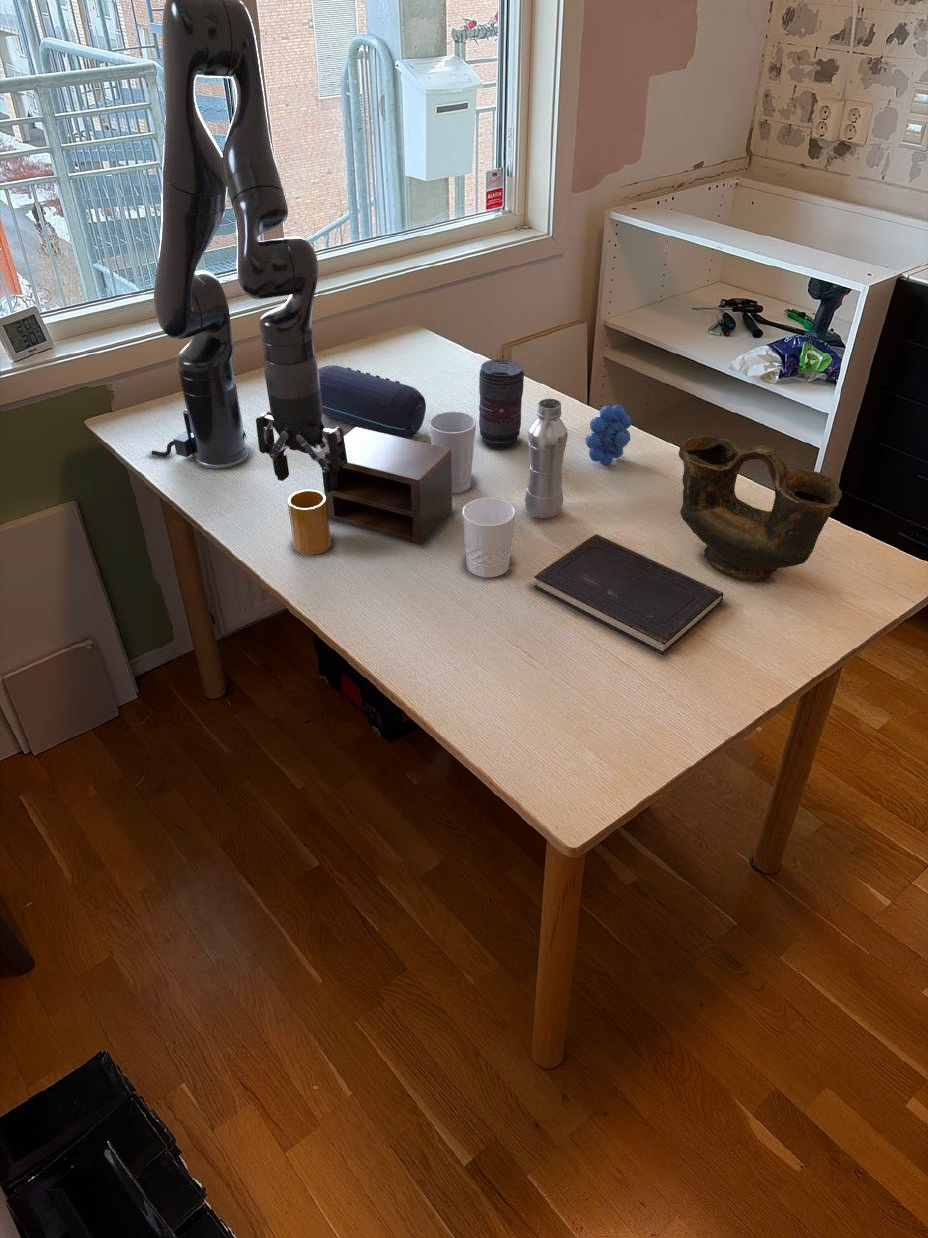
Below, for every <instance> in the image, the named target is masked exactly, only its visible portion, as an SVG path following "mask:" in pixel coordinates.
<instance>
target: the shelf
mask: <svg viewBox="0 0 928 1238" xmlns="http://www.w3.org/2000/svg"><path fill="white" fill-rule="evenodd" d="M343 436H344V442H345V448H346V455H347V463H346V464H345V465H344V466H343V467H341V468H340V469H339V470H338V471H337V480H338V484H337V486H336V487H335V488H334V489H333V490H332V491H331V492H330V493H329V492H325V491H324V490H323V491H324V492H323V493H324V495H325V496H326V500H327V509H328V518H329V521H333V522H338V523H340V524H345V525H348V526H351V527H355V528H359V529H362V530H366V531H370V532H373V533H377V534H381V535H385V536H388V537H391V538H395V539H398V540H402V541H406V542H410V543H414V544H417V545H420V546H423V544H425V542H426V541H427V540H428V539H429V538H430V537H431V535H432V534H434V532H436V530H437V529H438V528H439V527H440V526H441V525H442V524H443V522H445V520H446V519H447V518H448V517H449V516H450V515H451V514H452V513H453V496H452V495H453V493H452V475H451V449H448V448H444V447H440V446H436V445H432V443H426V442H422V441H417V440H414V439H411V438H408V439H406V438H401V437H397V436H393V435H389V434H384V433H380V432H376V431H373V430H370V429H367V428H363V427H360V426H355V427H353V428H352V429H351V430H350V431H349V432H348V433H346V434H345V435H343ZM323 457H324V458H325V456H324V455H323ZM325 460H326V461H327V459H326V458H325ZM327 462H328V461H327ZM322 471H323V469H322V468H321V472H322Z"/></svg>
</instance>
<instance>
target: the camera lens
mask: <svg viewBox="0 0 928 1238" xmlns="http://www.w3.org/2000/svg"><path fill="white" fill-rule="evenodd" d="M478 374H479V377H478V379H479V380H478V391H479V393H478V394H479V405H478V411H479V414H478V426H479V427H478V428H479V434H480V436H481V442H482V444H483V445H484V446H485V447H487V448H490V449H494V450H505V449H510V448H512V447H514V446H515V445H516V444H517V442H518V437H519V436H520V433H521V432H520V431H521V426H522V401H523V400H522V399H523V398H522V397H523V394H524V378H525V373H524V367H523V365H522V364H521V363H519V362H518V361H515V360H511V359H504V358H495V359H489V360H486V361H484V362H483V363H482V364H481V366H480V370H479V373H478Z"/></svg>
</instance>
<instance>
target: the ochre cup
mask: <svg viewBox="0 0 928 1238" xmlns="http://www.w3.org/2000/svg"><path fill="white" fill-rule="evenodd" d="M287 510H288V516H289V523H290V529H291V530H290V531H291V536H292V537H291V538H292V543H293V547H294V549H295V551H296V552H298V553H300V555H301V554H302V555H306V556H314V555H319V554H322V553H325V552H326V551H327V550H329V548H331V545H332V541H331V540H332V536H331V528H330V526H331V525H330V519H329V518H328V509H327V500H326V496H325V493H324V492H322V491H319V490H317V489H302V490H299V491H295V492H293V493H292V494H291V495H290V496H288V499H287Z"/></svg>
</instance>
